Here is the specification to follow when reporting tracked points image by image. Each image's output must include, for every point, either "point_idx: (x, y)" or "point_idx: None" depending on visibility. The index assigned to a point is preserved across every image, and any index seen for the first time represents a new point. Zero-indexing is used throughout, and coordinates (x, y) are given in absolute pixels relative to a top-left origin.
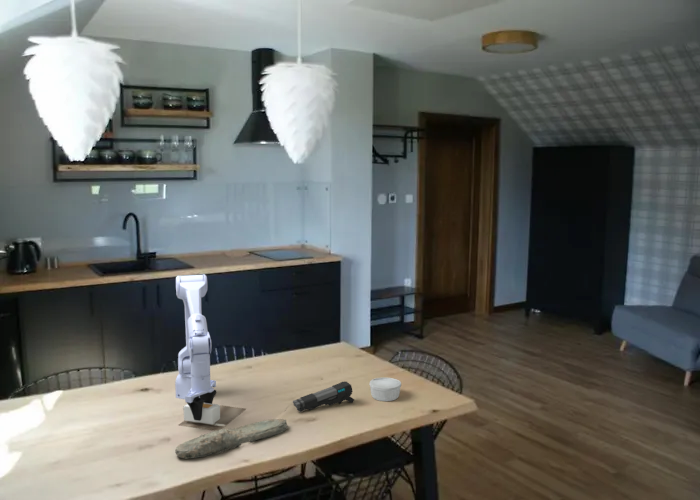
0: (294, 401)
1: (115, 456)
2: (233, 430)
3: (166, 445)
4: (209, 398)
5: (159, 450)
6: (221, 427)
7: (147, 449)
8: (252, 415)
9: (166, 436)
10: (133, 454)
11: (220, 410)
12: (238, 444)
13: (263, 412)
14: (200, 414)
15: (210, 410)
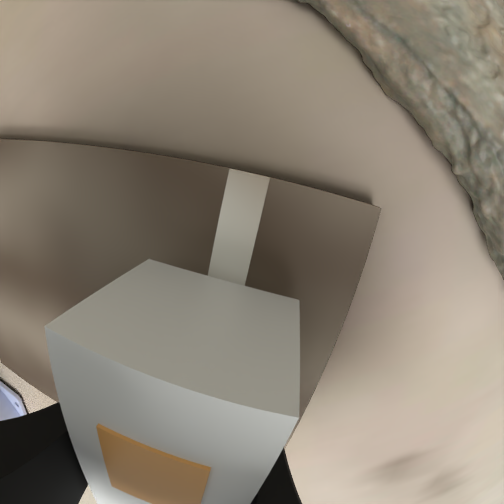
0: None
1: (472, 500)
2: (467, 41)
3: (461, 441)
4: (37, 477)
5: (493, 438)
6: (292, 200)
7: (467, 471)
8: (33, 77)
9: (365, 477)
10: (482, 479)
11: (19, 294)
12: None
13: (13, 46)
14: (286, 468)
15: (288, 433)
